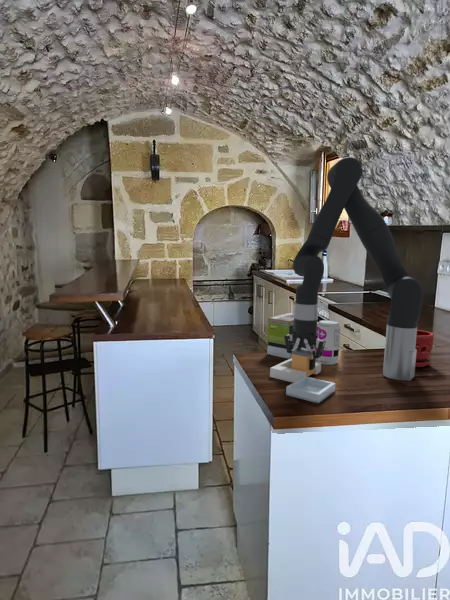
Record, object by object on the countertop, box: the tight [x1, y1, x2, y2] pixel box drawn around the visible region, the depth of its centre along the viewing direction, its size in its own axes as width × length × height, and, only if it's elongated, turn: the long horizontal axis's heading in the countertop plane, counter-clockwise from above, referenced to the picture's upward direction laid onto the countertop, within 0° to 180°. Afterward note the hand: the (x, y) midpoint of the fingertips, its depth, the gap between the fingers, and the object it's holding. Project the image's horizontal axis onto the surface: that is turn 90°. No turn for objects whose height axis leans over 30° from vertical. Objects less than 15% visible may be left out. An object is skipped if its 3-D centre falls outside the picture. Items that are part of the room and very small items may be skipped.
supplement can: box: [315, 319, 341, 366], centre depth 157 cm, size 8×8×15 cm
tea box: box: [266, 312, 295, 360], centre depth 168 cm, size 15×10×15 cm, turn 141°
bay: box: [269, 357, 322, 383], centre depth 143 cm, size 11×16×3 cm
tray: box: [285, 376, 336, 404], centre depth 126 cm, size 10×12×2 cm
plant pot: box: [415, 329, 434, 368], centre depth 158 cm, size 13×13×12 cm
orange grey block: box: [291, 348, 316, 377], centre depth 141 cm, size 5×7×8 cm
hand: (303, 367), depth 142 cm, fingers closed on orange grey block, 5 cm apart
